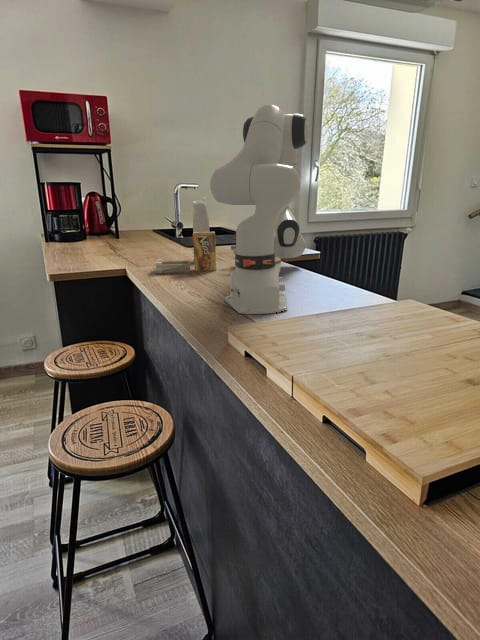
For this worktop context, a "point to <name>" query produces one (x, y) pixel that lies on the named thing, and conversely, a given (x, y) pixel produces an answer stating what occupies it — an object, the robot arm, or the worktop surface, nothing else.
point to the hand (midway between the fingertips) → (231, 249)
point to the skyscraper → (200, 217)
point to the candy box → (204, 251)
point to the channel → (172, 267)
